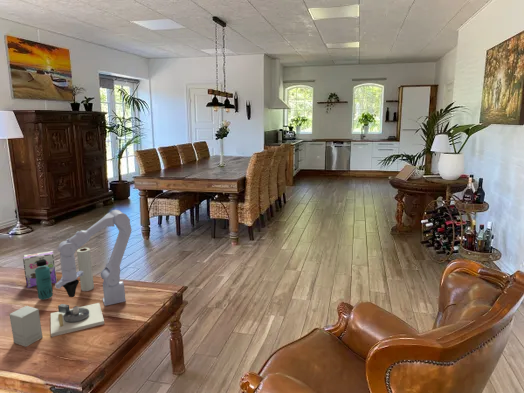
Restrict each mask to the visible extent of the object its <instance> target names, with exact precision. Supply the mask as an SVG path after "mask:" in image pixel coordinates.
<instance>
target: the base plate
mask: <svg viewBox="0 0 524 393" xmlns="http://www.w3.org/2000/svg"><path fill="white" fill-rule="evenodd" d="M79 308H86V309H88V310H89V316H88V317H87V318H86V319H84V320H82V321H79V322H73V323H69V322H66V321H64V314H65V313H61V312H59V311H56V312H51V313H50V336H51V338H52V337H56V336H60V335H64V334H69V333H73V332H76V331H81V330H85V329H90V328H94V327H98V326H101V325H105V320H104V316H103V312H102V308H101V304H100V302H97V303H92V304H87V305H84V306H76V305H75V306H73V307H72V308H69V309H70V310H73V314H74V315H77V314H79Z"/></svg>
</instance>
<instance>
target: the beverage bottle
mask: <svg viewBox="0 0 524 393" xmlns="http://www.w3.org/2000/svg"><path fill="white" fill-rule="evenodd" d="M46 264H47V263H46V260H38V261H37V266H40V267H38V268H37V269H36V270H35V275H36V284H37V286H36V291H37V298H38V299H39V300H48V299H50V298H52V297H53V294H54V290H53V283H51V276H50V268H49V267H48V266H44V265H46Z"/></svg>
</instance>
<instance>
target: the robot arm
mask: <svg viewBox="0 0 524 393" xmlns="http://www.w3.org/2000/svg"><path fill="white" fill-rule="evenodd" d="M130 221H131V219H130V217H129V216H128V215H127V214H126V213H124V212H122V211H121V210H120V209H113V210H111V211H110V212H108V213H106V214H105V215H104V216H103V217H102V218H100V219H99V220H98V221H96V222H95V223H94V224H92V225H91V226H90V227H89V228H87V229H86V230H80V231H79V230H78V231H76V232H75V234H74V235H72V236H71V237H69V238H67V239H65V240H63V241H61V242H60V243H59V244H58V245H57V251H58V252H59V257H60V259H59V261H60V268H61V269H60V270H61V278H60V280H58V281H57V283H54V286H55V289H61V288H62V287H63V288H64V290H65V291H66V293H67V296H68V298H74V297H75V296H76V291H77V287H78V285H79V283H80V279H79V278H80V276H83V275H84V273H83V271H79V270H78V271H77V266H76V257H75V253H76V252H77V250H78V249H81V247H82V246H84V245H85V244H87V243H88V242H89V241H90V239H91V237H92V236H94V235H96V234H97V233H99V232H100V231H101V230H103V229H104V228H106V227H112V228H113V227H115V226H116V228H117V230H118V235H117V238H116V240H115V243H114V245H113V248H112V252H111V255H110V257H109V261H108V263H106V264H105V265H104V268H103V269H102V271H101V272H100V278H101V279H102V280H103V282H102V289H103V290H102V291H103V297H102V302H103V305H104V306H105V307H106V306H111V305H115V304H119V303H124V302H126V291H125V290H126V289H125V284H124V281H123V280H121V277H120V275H121V264H122V261H123V257H124V254H125V251H126V249H127V246H128V243H129V240H130V237H131V234H132V231H133V230H132V226H131V222H130Z"/></svg>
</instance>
